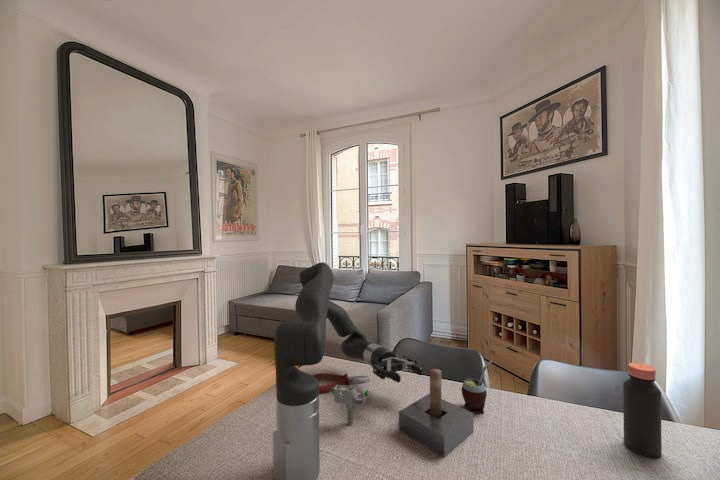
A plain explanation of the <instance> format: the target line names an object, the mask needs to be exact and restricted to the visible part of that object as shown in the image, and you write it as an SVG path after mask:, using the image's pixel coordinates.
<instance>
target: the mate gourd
mask: <svg viewBox="0 0 720 480" xmlns="http://www.w3.org/2000/svg"><path fill="white" fill-rule="evenodd" d="M493 362H494V359H492V360H490V361H489V362H487V363H486V364H485V366H483V368H482V371H481V374H480V378H479V379H475V378H466V379H465V380H463V381H464V382H463V383H462V385H461V394H462V395H461V396H462V398H463V401H464V406H465V407H467V410H468V411H470V412H472V413H473V411H476V412H478V413H480V414H482V415H483V414H485V410H484V408H485V404H486V400H487V396H488V395H487V389H486V386H485V384H484V383H483V382H482V379H483V377H484V374H485V371H486V370H487V367H488V366H489V365H491V364H492V363H493Z"/></svg>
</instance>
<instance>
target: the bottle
mask: <svg viewBox="0 0 720 480" xmlns="http://www.w3.org/2000/svg"><path fill="white" fill-rule="evenodd" d="M627 374H628V376H629V378H628V379H626V380H625V381H624V382H623V383H622V384H623V387H622V389H623V391H622V392H623V393H622V394H623V395H622V396H623V397H622V398H623V399H622V400H623V409H622V410H623V444H624V445H625V447H627V448H628V449H629V450H631V451H632V452H634V453H636V454H639V455H640V456H644V457H647V458H652V457H655V458H656V457H657V458H660V457H662V453H663V450H662V448H663V447H662V444H663V443H662V392H661V390H660V389H659V387H658V386H656V385H655V384H654V382H655V381H656V369H655V368H654V367H652V366H651V365H650V366H649V365H648V364H644V363H637V362H630V363H628V364H627ZM655 458H654V459H655Z"/></svg>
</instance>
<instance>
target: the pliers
mask: <svg viewBox="0 0 720 480" xmlns="http://www.w3.org/2000/svg"><path fill="white" fill-rule="evenodd" d="M311 375H312V376H314V377H315V378H316V379H317V380H318V381H320V380H322V381H325V380H326V381H334V382H332V383H329V384H325V385H319V395H322V394H329V393H330V392H331V393H332V387H335V386H336V385H345V386H351V385H352V384H360V383H364V382H370V381H371V379H370V378H369V375H350V376H349V375H348V373H344V374H336V373H335V374H334V373H325V372H324V373H323V372H321V373H313V374H311ZM368 378H369V379H368Z"/></svg>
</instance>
